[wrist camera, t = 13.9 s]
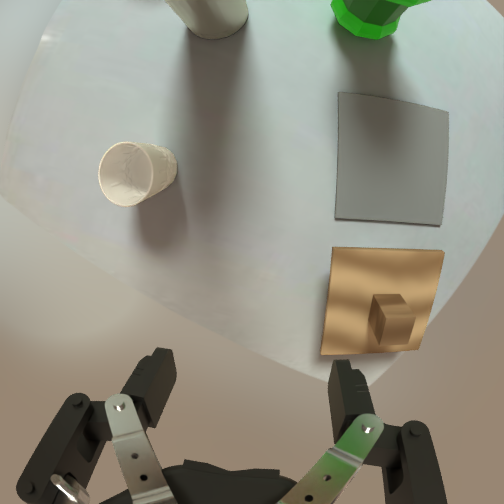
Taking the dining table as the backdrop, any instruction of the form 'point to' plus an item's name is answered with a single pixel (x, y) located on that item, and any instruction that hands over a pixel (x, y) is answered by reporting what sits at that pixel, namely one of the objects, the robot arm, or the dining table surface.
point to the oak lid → (379, 299)
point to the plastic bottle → (371, 15)
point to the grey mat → (391, 160)
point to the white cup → (135, 172)
